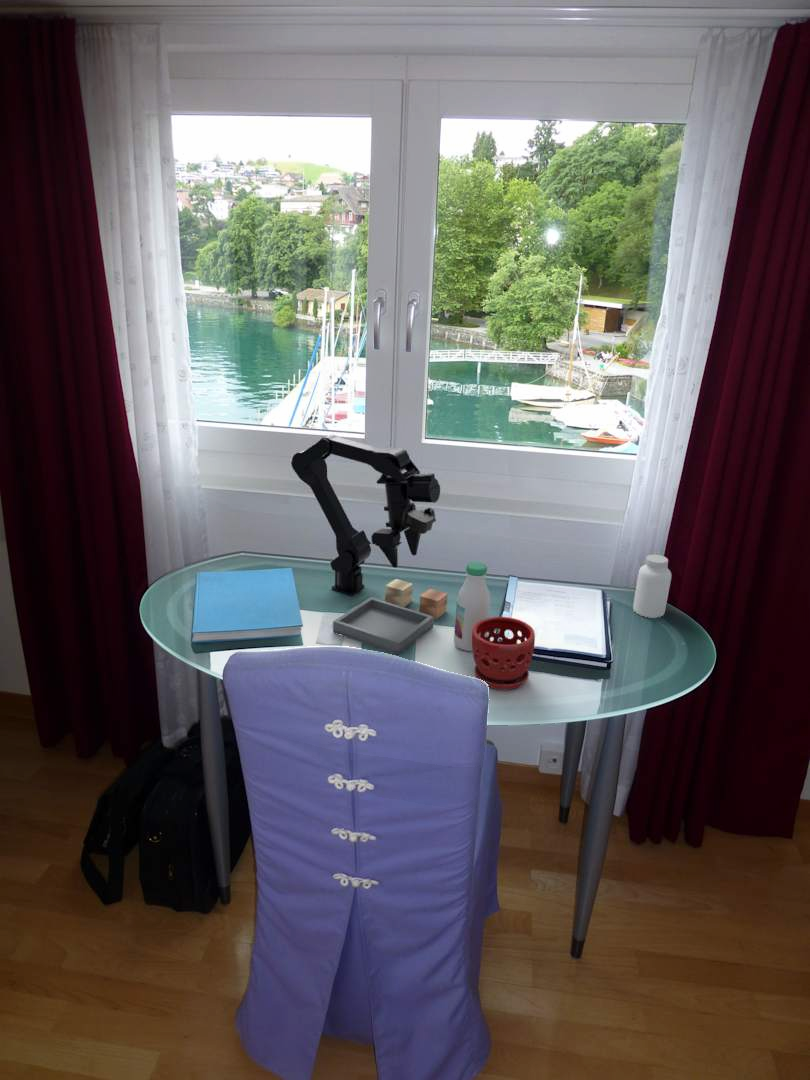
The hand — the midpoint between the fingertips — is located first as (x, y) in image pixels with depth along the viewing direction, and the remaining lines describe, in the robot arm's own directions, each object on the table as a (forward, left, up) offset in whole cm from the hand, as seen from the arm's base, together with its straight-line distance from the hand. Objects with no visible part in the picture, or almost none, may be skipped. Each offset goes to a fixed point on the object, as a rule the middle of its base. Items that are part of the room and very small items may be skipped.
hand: (404, 561), depth 203 cm
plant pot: (+36, -19, -12) cm, 42 cm away
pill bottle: (+54, +33, -12) cm, 64 cm away
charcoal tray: (+4, -15, -12) cm, 19 cm away
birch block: (-1, 0, -12) cm, 12 cm away
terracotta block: (+9, 0, -12) cm, 15 cm away
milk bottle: (+24, -9, -12) cm, 28 cm away
